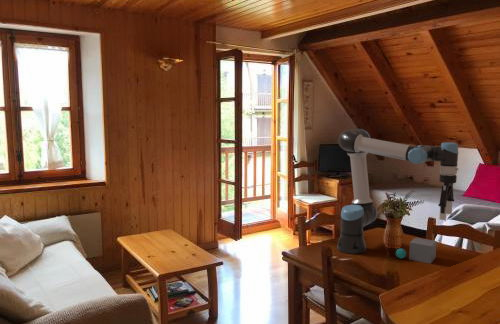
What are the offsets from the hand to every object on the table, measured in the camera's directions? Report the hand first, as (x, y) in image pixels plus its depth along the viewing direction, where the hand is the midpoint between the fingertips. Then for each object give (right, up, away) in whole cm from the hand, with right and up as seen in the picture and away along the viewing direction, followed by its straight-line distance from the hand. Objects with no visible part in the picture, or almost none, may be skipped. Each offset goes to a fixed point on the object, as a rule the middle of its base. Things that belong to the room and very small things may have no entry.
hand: (445, 216), depth 207 cm
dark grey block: (-10, -22, +5) cm, 24 cm away
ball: (-20, -19, +5) cm, 28 cm away
